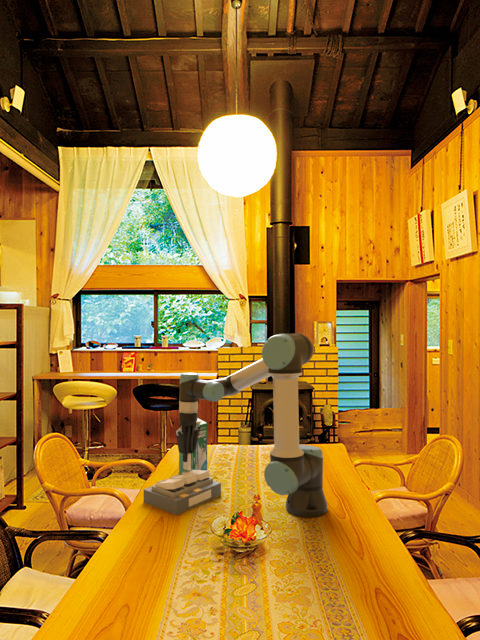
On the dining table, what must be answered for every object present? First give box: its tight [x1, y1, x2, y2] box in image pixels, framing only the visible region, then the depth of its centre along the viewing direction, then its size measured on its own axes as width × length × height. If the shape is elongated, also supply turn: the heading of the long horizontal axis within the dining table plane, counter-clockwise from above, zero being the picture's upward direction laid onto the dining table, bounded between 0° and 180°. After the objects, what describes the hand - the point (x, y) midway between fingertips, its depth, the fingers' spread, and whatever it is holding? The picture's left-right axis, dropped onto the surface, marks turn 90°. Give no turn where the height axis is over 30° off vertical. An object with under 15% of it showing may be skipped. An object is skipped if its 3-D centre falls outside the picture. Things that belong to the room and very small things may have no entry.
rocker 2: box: [168, 474, 197, 484], centre depth 181 cm, size 10×5×3 cm, turn 51°
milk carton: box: [178, 417, 208, 475], centre depth 211 cm, size 9×9×25 cm
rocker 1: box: [154, 478, 184, 490], centre depth 176 cm, size 10×5×3 cm, turn 51°
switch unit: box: [143, 476, 222, 516], centre depth 181 cm, size 18×24×7 cm
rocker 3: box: [182, 469, 210, 480], centre depth 186 cm, size 10×5×3 cm, turn 51°
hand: (187, 469), depth 190 cm, fingers closed
